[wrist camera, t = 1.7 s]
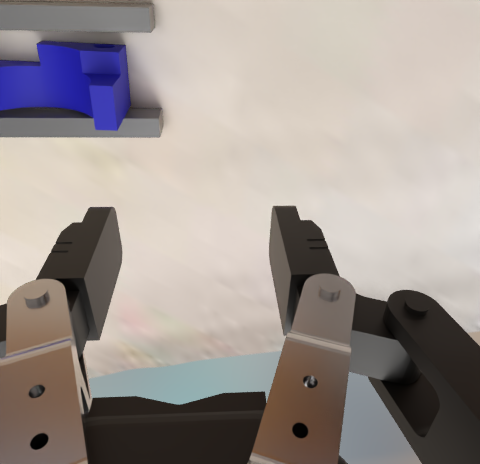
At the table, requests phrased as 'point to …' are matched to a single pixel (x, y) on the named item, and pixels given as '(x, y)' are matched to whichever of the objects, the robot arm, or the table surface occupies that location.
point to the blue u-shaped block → (71, 81)
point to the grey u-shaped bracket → (76, 19)
